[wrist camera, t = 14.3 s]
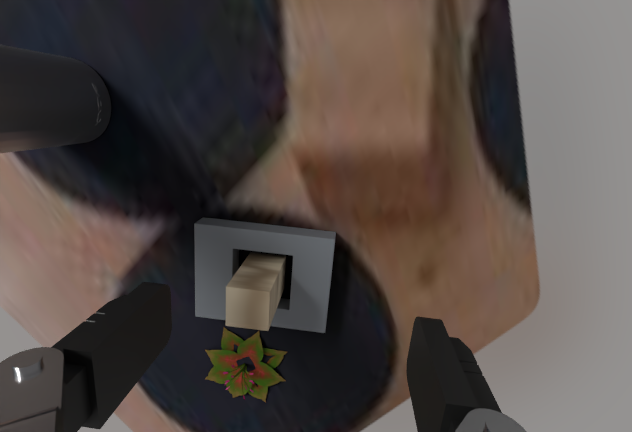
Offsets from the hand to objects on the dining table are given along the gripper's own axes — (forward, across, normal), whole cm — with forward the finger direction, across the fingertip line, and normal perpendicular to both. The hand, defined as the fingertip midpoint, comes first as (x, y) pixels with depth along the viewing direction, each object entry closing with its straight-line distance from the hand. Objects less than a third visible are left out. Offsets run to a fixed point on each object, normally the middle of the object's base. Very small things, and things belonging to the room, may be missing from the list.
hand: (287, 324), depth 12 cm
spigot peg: (+30, +7, +13) cm, 34 cm away
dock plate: (+30, +7, +13) cm, 34 cm away
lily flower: (+31, +9, +27) cm, 42 cm away
